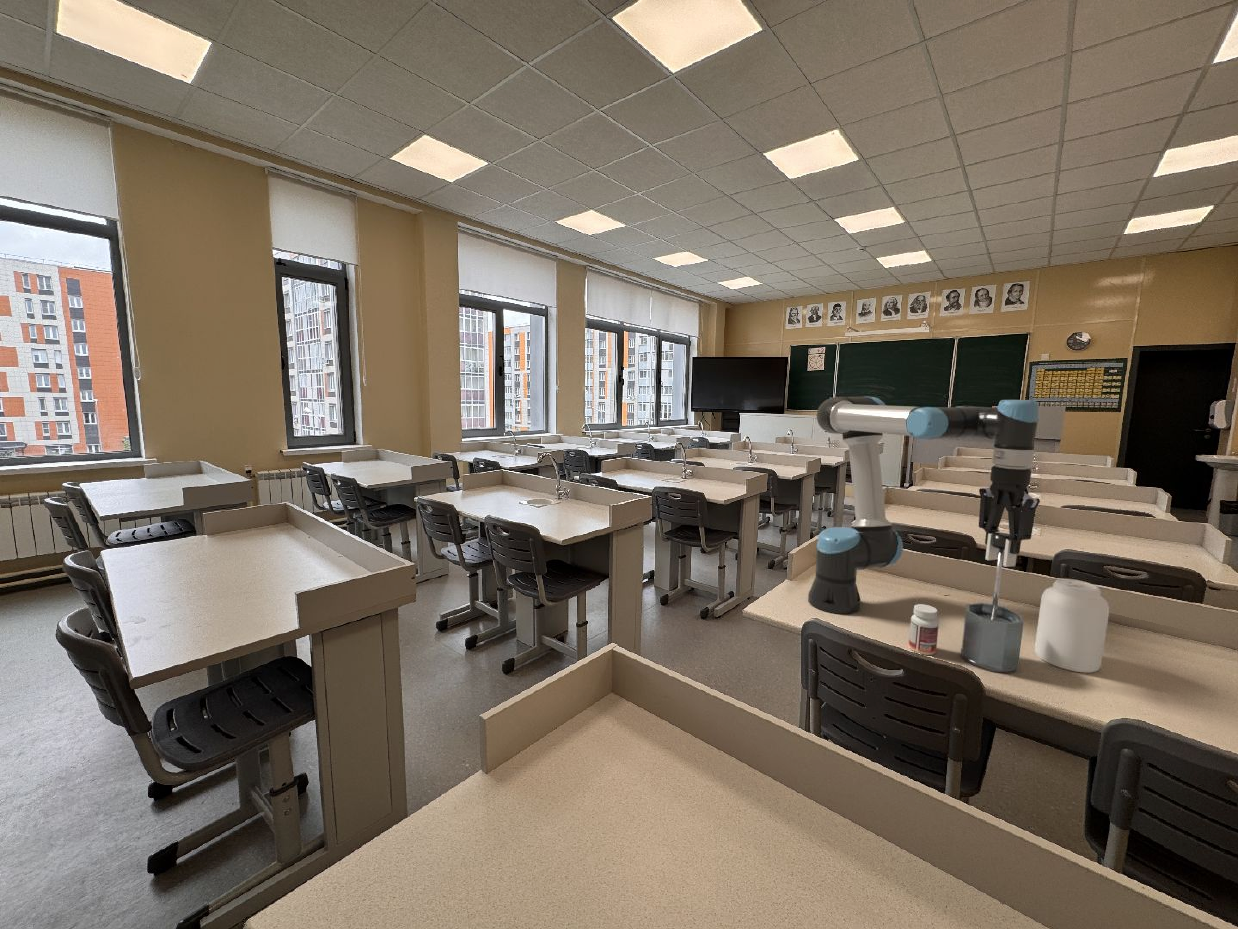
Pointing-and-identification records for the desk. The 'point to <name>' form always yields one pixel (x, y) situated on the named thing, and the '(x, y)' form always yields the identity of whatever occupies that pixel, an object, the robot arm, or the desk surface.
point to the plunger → (997, 573)
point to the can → (1072, 626)
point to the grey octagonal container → (992, 638)
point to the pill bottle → (924, 629)
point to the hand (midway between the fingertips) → (1000, 562)
